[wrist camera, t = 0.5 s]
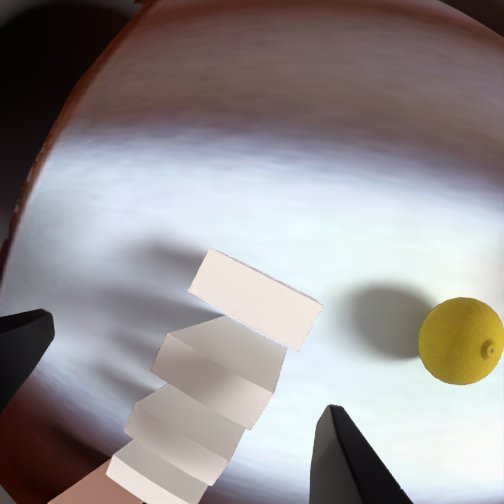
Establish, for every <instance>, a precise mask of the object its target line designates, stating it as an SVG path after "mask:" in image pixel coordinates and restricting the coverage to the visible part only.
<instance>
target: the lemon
mask: <svg viewBox="0 0 504 504" xmlns="http://www.w3.org/2000/svg"><path fill="white" fill-rule="evenodd" d="M503 347H504V329H503V325H502V322H501V320H500V318H499V317H498V315H497V314H496V312H495V311H494V310H493V309H492V308H491V307H489V306H488V305H487V304H485V303H483V302H481V301H478V300H476V299H473V298H464V297H459V298H454V299H450V300H447V301H445V302H443V303H441V304H439V305H437V306H436V307H435V308H434V309H433V310H432V311H431V312H430V313H429V314H428V315H427V317H426V318H425V320H424V321H423V324H422V326H421V328H420V332H419V337H418V350H419V354H420V358H421V360H422V362H423V364H424V366H425V368H426V369H427V370H428V371H429V372H430V373H431V374H432V375H433V376H434V377H435V378H437V379H439V380H441V381H443V382H445V383H448V384H455V385H467V384H472V383H475V382H477V381H479V380H481V379H483V378H485V377H486V376H487V375H488V374H489V373H490V372H491V371H492V370H493V369H494V368H495V366H496V365H497V363H498V361H499V359H500V357H501V354H502V351H503Z"/></svg>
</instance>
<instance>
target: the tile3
mask: <svg viewBox="0 0 504 504" xmlns="http://www.w3.org/2000/svg"><path fill="white" fill-rule="evenodd" d="M244 430H245V427H243V426H241V425H239V424H237V423H235V422H234V421H232V420H230V419H228V418H226V417H224V416H222V415H221V414H219V413H217V412H215V411H214V410H212V409H210V408H208V407H207V406H205V405H203V404H201V403H200V402H198V401H196V400H195V399H193V398H191V397H190V396H188V395H187V394H185V393H183V392H182V391H180V390H179V389H177V388H175V387H174V386H172V385H171V384H169V383H167V384H166V385H164V386H163V387H161V388H159V389H158V390H156V391H155V392H153V393H151V394H150V395H148V396H147V397H145V398H143V399H142V400H140V401H138V402H137V403H135V405H134V408H133V410H132V412H131V414H130V417H129V419H128V421H127V424H126V426H125V428H124V432H125V433H126V434H128V435H129V436H131V437H132V438H133V439H135V440H136V441H138V442H139V443H140V444H142V445H143V446H145V447H146V448H148V449H149V450H151V451H152V452H154V453H155V454H157V455H158V456H160V457H161V458H163V459H164V460H166V461H168V462H169V463H171V464H173V465H174V466H176V467H178V468H179V469H181V470H183V471H184V472H186V473H188V474H190V475H191V476H193V477H195V478H197V479H199V480H200V481H202V482H204V483H206V484H208V485H210V486H212V485H213V484H214V483H215V481H216V480H217V478H218V477H219V476H220V474H221V473H222V472H223V470H224V469H225V467H226V466H227V464H228V463H229V462H230V460H231V458H232V456H233V454H234V452H235V449H236V447H237V445H238V443H239V441H240V439H241V437H242V435H243V432H244Z"/></svg>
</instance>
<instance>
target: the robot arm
mask: <svg viewBox="0 0 504 504" xmlns="http://www.w3.org/2000/svg"><path fill="white" fill-rule="evenodd" d="M54 336H55V330H54V322H53V316H52V314H51V313H50V312H48V311H47V310H45V309H37V310H32V311H27V312H22V313H18V314H13V315H8V316H3V317H0V415H1V413H2V412H3V410H4V409H5V408H6V406H7V405H8V403H9V402H10V401H11V399H12V398H13V397H14V395H15V394H16V393H17V391H18V390H19V389H20V387H21V386H22V385H23V383H24V382H25V381H26V379H27V378H28V377H29V375H30V374H31V373H32V371H33V370H34V368H35V367H36V365H37V364H38V362H39V361H40V359H41V357H42V356H43V354H44V353H45V351H46V350H47V348H48V347H49V345H50V344H51V342H52V341H53V339H54ZM309 504H414V503H413V502H412V501H411V500H410V498H409V497H408V496H407V494H406V493H405V492H404V490H403V489H401V487H400V485H399V484H398V482H397V481H396V480H395V478H394V477H393V476H392V474H391V473H390V472H389V470H388V469H387V468H386V466H385V465H384V463H383V462H382V461H381V459H380V458H379V457H378V455H377V454H376V452H375V451H374V450H373V448H372V447H371V446H370V444H369V443H368V441H367V440H366V439H365V437H364V436H363V435H362V433H361V432H360V430H359V429H358V428H357V426H356V425H355V423H354V422H353V421H352V419H351V418H350V416H349V415H348V414H347V412H346V411H345V410H344V408H343V407H342V406H338V405H332V404H330V405H328V406H327V407H326V409H325V410H324V412H323V414H322V415H321V417H320V419H319V420H318V422H317V425H316V431H315V439H314V447H313V454H312V461H311V469H310V499H309Z"/></svg>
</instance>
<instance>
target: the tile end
mask: <svg viewBox="0 0 504 504" xmlns="http://www.w3.org/2000/svg"><path fill="white" fill-rule="evenodd" d="M188 292H190V293H191V294H193V295H195V296H196V297H198V298H200V299H202V300H203V301H205V302H207V303H209V304H210V305H212V306H214V307H216V308H217V309H219V310H221V311H223V312H225V313H226V314H228V315H230V316H232V317H234V318H235V319H237V320H239V321H241V322H243V323H245V324H246V325H248V326H250V327H252V328H254V329H256V330H258V331H259V332H261V333H263V334H265V335H267V336H269V337H271V338H273V339H275V340H277V341H279V342H281V343H283V344H284V345H286V346H288V347H290V348H292V349H294V350H296V351H298V352H299V351H300V349H301V347H302V345H303V343H304V341H305V340H306V338H307V336H308V334H309V332H310V330H311V329H312V327H313V325H314V323H315V321H316V319H317V317H318V315H319V313H320V312H321V310H322V308H323V305H322V304H321V303H319V302H318V301H317V300H315V299H314V298H312V297H310V296H308V295H306V294H304V293H303V292H301V291H299V290H297V289H295V288H293V287H291V286H289V285H287V284H285V283H283V282H281V281H279V280H277V279H275V278H273V277H271V276H269V275H267V274H265V273H263V272H261V271H259V270H257V269H255V268H253V267H252V266H249V265H247V264H245V263H243V262H241V261H238V260H236V259H234V258H232V257H230V256H227V255H225V254H223V253H221V252H219V251H217V250H214V249H212V248H209V250H208V252H207V254H206V256H205V258H204V260H203V262H202V264H201V266H200V268H199V270H198V272H197V274H196V276H195V278H194V280H193V282H192V284H191V286H190V288H189V290H188Z"/></svg>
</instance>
